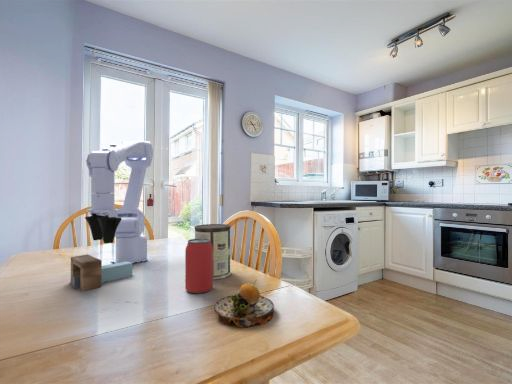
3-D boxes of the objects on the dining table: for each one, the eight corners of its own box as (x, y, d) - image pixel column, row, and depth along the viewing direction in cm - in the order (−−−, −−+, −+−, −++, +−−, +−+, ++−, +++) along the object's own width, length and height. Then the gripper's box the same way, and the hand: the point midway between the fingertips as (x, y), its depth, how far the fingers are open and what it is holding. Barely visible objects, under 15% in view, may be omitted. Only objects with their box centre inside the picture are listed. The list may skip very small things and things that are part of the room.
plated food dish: (247, 297, 61) (247, 264, 61) (287, 314, 52) (287, 276, 52) (201, 313, 53) (201, 275, 53) (239, 336, 44) (239, 291, 44)
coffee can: (208, 267, 84) (208, 223, 84) (236, 272, 80) (236, 224, 80) (186, 277, 75) (186, 226, 75) (217, 282, 70) (217, 228, 70)
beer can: (217, 286, 67) (217, 238, 67) (204, 296, 61) (204, 243, 61) (194, 283, 69) (194, 237, 69) (179, 292, 63) (179, 241, 63)
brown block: (87, 278, 73) (87, 254, 73) (101, 286, 67) (101, 260, 67) (70, 282, 70) (70, 257, 70) (83, 291, 64) (83, 263, 64)
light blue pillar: (127, 273, 78) (127, 261, 78) (132, 275, 76) (132, 263, 76) (71, 285, 67) (71, 271, 67) (75, 288, 65) (75, 274, 65)
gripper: (78, 193, 77) (77, 240, 77) (97, 193, 68) (97, 247, 68) (104, 193, 82) (104, 237, 82) (125, 193, 73) (125, 243, 73)
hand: (102, 241), depth 75 cm, fingers open, 7 cm apart
